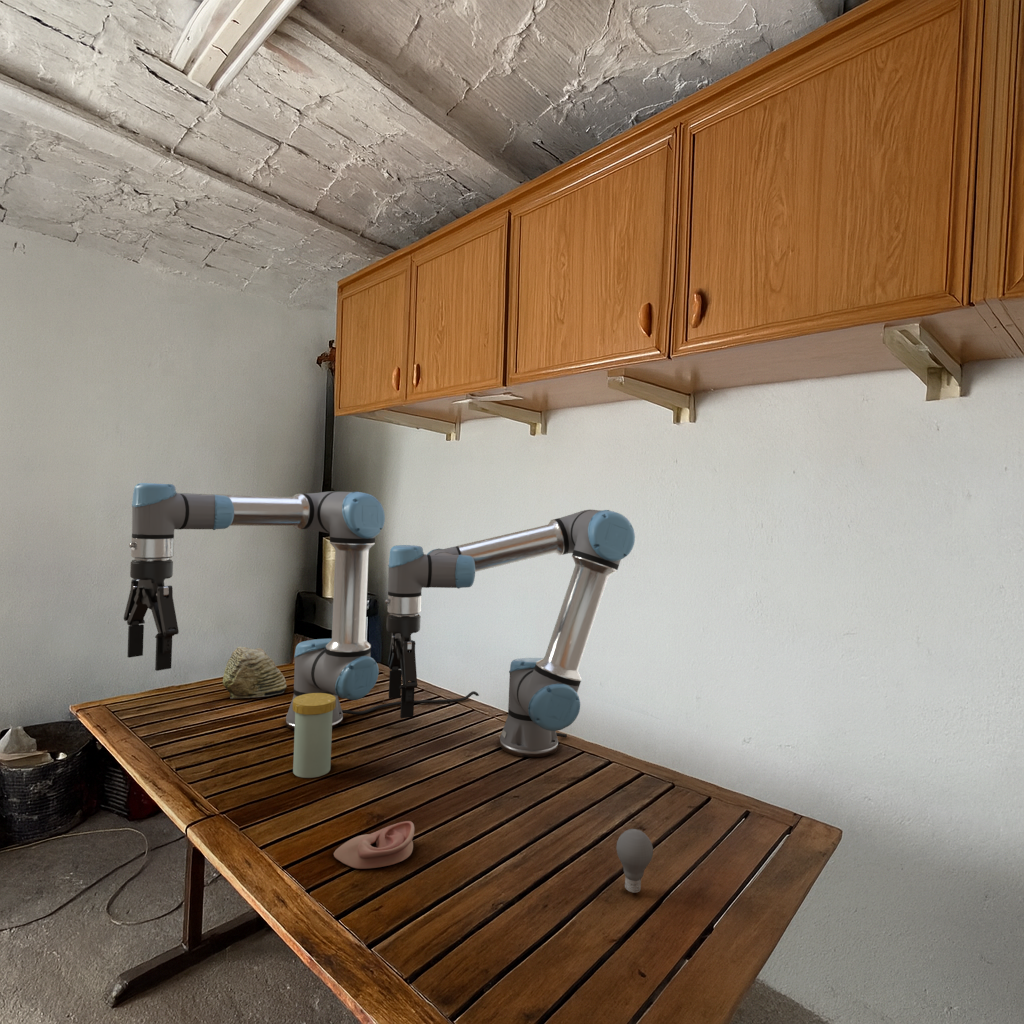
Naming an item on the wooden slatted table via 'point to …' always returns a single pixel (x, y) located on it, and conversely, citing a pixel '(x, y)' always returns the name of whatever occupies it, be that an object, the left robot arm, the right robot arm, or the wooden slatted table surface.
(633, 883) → the light bulb
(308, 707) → the lid
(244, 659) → the fossil
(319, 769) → the jar
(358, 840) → the anatomical model
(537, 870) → the wooden slatted table surface
